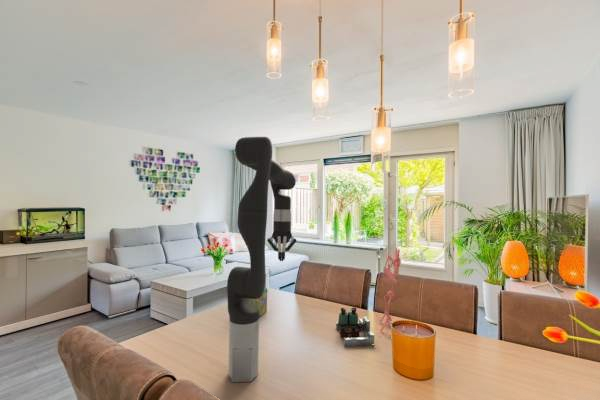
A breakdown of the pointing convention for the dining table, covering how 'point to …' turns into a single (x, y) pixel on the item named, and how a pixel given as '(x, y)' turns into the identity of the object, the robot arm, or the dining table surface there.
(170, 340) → the dining table surface
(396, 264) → the figurine
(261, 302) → the chalk box
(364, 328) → the bracket
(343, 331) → the binoculars
